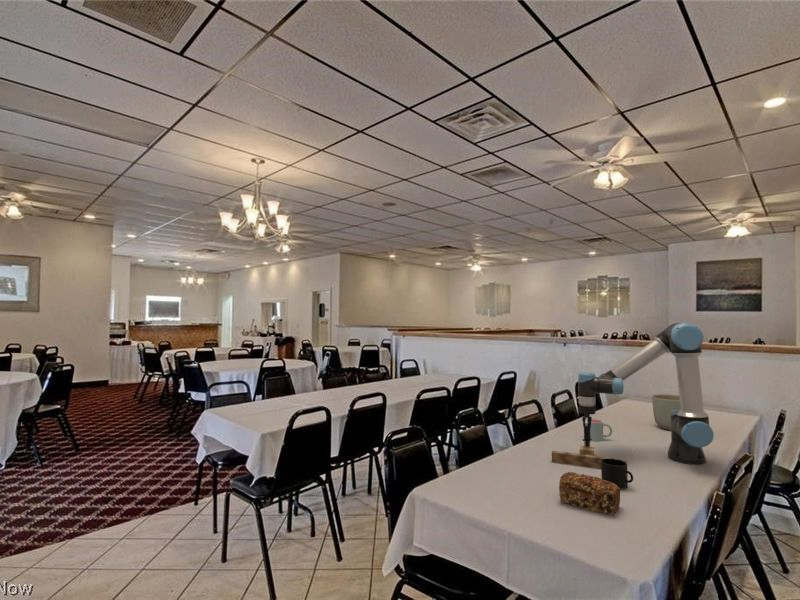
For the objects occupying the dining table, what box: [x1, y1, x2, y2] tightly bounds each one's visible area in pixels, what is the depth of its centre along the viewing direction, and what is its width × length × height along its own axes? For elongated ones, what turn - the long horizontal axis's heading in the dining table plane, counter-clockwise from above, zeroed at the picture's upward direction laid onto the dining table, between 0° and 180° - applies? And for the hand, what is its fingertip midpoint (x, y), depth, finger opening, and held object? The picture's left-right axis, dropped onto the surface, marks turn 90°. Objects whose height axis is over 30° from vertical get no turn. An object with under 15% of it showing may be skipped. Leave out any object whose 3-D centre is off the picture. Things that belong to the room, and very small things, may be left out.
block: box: [579, 445, 595, 456], centre depth 202 cm, size 6×6×6 cm
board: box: [551, 450, 615, 470], centre depth 196 cm, size 26×3×5 cm, turn 64°
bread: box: [558, 471, 621, 516], centre depth 155 cm, size 19×11×10 cm, turn 51°
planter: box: [651, 393, 681, 432], centre depth 262 cm, size 21×21×19 cm
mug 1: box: [590, 418, 613, 443], centre depth 238 cm, size 14×9×10 cm
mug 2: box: [600, 457, 634, 490], centre depth 172 cm, size 9×12×9 cm
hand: (587, 454), depth 207 cm, fingers closed
